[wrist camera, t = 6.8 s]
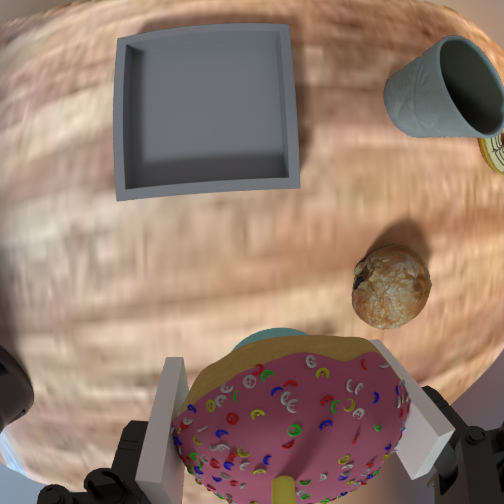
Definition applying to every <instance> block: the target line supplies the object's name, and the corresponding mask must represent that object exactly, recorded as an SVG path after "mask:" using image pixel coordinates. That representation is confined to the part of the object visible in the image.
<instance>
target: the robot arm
mask: <svg viewBox="0 0 504 504" xmlns="http://www.w3.org/2000/svg"><path fill="white" fill-rule="evenodd" d="M370 342H371V343H372V344H373V345H374V346H375V347H376V348H377V349H378V350H379V351H380V353H381V354H382V355H383V356H384V358H385V359H386V360H387V361H388V363H389V364H390V365H391V367H392V368H393V369H394V371H395V372H396V373H397V375H398V376H399V378H400V379H401V380H402V379H403V380H405V387H406V389H407V392H409V400H410V409H409V413H408V416H407V419H406V421H405V427H406V428H405V429H404V430H403V431H402V438H401V439H400V440H398V441H399V443H398V445H397V447H396V448H394V450H397V451H396V453H397V454H398V456H399V458H400V460H401V462H402V463H403V465H404V467H405V469H406V470H407V472H408V474H409V476H410V477H411V479H412V480H413V479H415V478H418V477H420V476H422V475H425V474H427V473H428V472H429V471H430V469H431V468H432V466H433V465H434V466H435V468H436V469H437V471H436V472H435V473H434V475H433V476H432V478H431V479H430V480H429V482H428V484H427V487H430V486H431V484H432V483H433V482H434V485H433V487H434V489H435V504H504V422H503V424H502V425H501V427H500V428H497V429H494V430H489V431H485V430H484V429H482V428H480V427H478V426H468V425H467V424H466V423H465V422H464V421H463V420H462V419H461V418H460V416H459V415H458V414H457V413H456V412H455V411H454V409H453V408H452V407H451V406H449V404H448V403H447V401H446V400H444V398H443V397H442V396H441V395H440V394H439V392H438V391H437V390H435V389H433V388H431V387H430V386H428V385H427V386H424V387H420V386H419V385H418V384H417V383H416V381H415V380H414V379H413V378H412V377H411V376H410V374H409V373H408V372H407V371H406V370H405V369H404V367H403V366H402V365H401V364H400V363H399V362H398V361H397V359H396V358H395V357H394V356H393V355H392V354H391V353H390V351H389V350H388V349H387V348H386V347H385V346H384V345H383V343H382V342H381V341H380V340H379V339H376V340H370ZM188 393H189V387H188V382H187V376H186V371H185V365H184V360H183V357H166V360H165V364H164V367H163V371H162V374H161V378H160V382H159V385H158V389H157V392H156V396H155V400H154V404H153V407H152V411H151V415H150V419H149V422H147V421H135V420H131V421H130V422H129V423H128V425H127V426H126V427H125V428H124V429H123V432H122V435H121V438H120V441H119V444H118V450H117V451H116V454H115V457H114V460H113V464H112V467H111V469H110V468H99V469H96V470H93V471H92V472H90V473H89V474H88V475H87V476H86V478H85V480H84V488H85V489H86V490H87V492H70V491H69V490H67V489H66V488H65V487H64V486H61V485H58V484H51V485H48V486H45V487H44V488H43V489H42V490H41V491H40V493H39V496H38V500H37V504H182V495H183V482H184V470H185V464H184V463H183V461H182V460H181V459H180V457H179V455H178V452H177V451H176V445H174V440H173V436H174V435H172V436H171V435H170V432H171V429H172V424H173V421H174V420H175V419H176V418H177V417H178V416H179V415H180V411H181V407H182V405H183V403H184V401H185V399H186V397H187V395H188ZM33 402H34V396H33V391H32V388H31V386H30V383H29V381H28V379H27V378H26V376H25V374H24V373H23V371H22V370H21V368H20V367H19V365H18V364H17V363H16V361H15V360H14V359H13V358H12V357H11V356H10V355H9V354H8V353H7V352H6V351H5V350H4V349H3V348H2V347H1V346H0V433H1V432H2V430H3V429H4V428H5V427H6V426H7V425H8V424H10V423H12V422H14V421H15V420H17V419H19V418H20V417H22V416H24V415H25V414H26V413H27V412H28V411H29V409H30V408H31V406H32V405H33ZM400 436H401V435H400ZM399 438H400V437H399Z"/></svg>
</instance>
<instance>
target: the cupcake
mask: <svg viewBox="0 0 504 504" xmlns="http://www.w3.org/2000/svg"><path fill="white" fill-rule="evenodd" d="M409 409H410V400H409V392H407V389H406V387H405V380H403V379H402V380H401V379H400V378H399V376H398V375H397V373H396V372H395V371H394V369H393V368H392V367H391V365H390V364H389V363H388V361H387V360H386V359H385V358H384V356H383V355H382V354H381V353H380V351H379V350H378V349H377V348H376V347H375V346H374V345H373V344H372V343H371V342H370V341H368V340H366V339H364V338H360V337H339V336H325V335H308V334H306V333H304V332H302V331H299V330H295V329H291V328H271V329H266V330H263V331H259V332H257V333H254V334H252V335H250V336H249V337H247V338H245V339H244V340H242V341H241V342H240V343H239V344H238V345H237V346H236V347H235V348H234V349H233V350H232V352H231V353H229V354H228V355H227V356H225V357H224V358H222V359H220V360H219V361H217V362H215V363H213V364H211V365H209V366H207V367H206V368H205V369H203V370H202V371H201V372H200V374H199V375H198V377H197V378H196V380H195V382H194V383H193V385H192V387H191V389H190V391H189V393H188V395H187V397H186V399H185V401H184V403H183V405H182V407H181V411H180V415H179V416H178V417H177V418H176V419H175V420H174V421H173V424H172V429H171V432H170V435H171V436H172V435H174V436H173V440H174V445H176V451H177V452H178V455H179V457H180V459H181V460H182V461H183V463H184V464H185V466H186V467H187V470H188V472H189V473H190V474H193V475H194V477H195V481H196V483H197V484H199V485H201V484H203V485H204V486H205V487H206V488H207V490H208V491H212V492H214V494H215V495H217V496H218V497H219V498H221V499H226V500H227V502H228V503H229V504H235V503H236V504H314V503H318V502H320V503H322V504H327V502H329V501H333V500H335V499H336V498H337V497H338V496H339V497H338V499H339V498H340V497H341V496H344V495H346V494H347V493H348V492H354V491H355V490H357V488H358V487H360V486H362V485H365V484H367V483H366V482H367V481H368V480H369V479H370V478H372V477H373V476H375V475H376V474H377V473H378V472H379V469H380V468H381V466H382V464H383V463H384V462H385V461H386V459H387V458H388V457H389V455H390V454H391V453H394V452H396V451H397V450H393V449H394V448H396V447H397V445H398V443H399V441H398V440H400V439H401V438H402V431H403V430H404V429H405V428H406V427H405V421H406V419H407V416H408V413H409ZM400 435H401V436H400ZM399 437H400V438H399ZM376 472H377V473H376ZM198 481H199V482H198ZM331 499H332V500H331ZM326 500H327V501H326Z"/></svg>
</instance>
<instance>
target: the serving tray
mask: <svg viewBox="0 0 504 504" xmlns="http://www.w3.org/2000/svg"><path fill="white" fill-rule="evenodd" d="M113 149H114V172H115V187H116V200H117V201H125V200H134V199H143V198H153V197H163V196H174V195H186V194H198V193H212V192H227V191H245V190H267V189H297V188H300V165H299V143H298V124H297V108H296V94H295V81H294V69H293V58H292V47H291V38H290V28H289V24H273V23H226V24H208V25H196V26H187V27H178V28H171V29H164V30H157V31H152V32H146V33H141V34H136V35H131V36H127V37H122V38H118V40H117V50H116V61H115V76H114V98H113Z"/></svg>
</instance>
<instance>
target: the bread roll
mask: <svg viewBox="0 0 504 504" xmlns="http://www.w3.org/2000/svg"><path fill="white" fill-rule="evenodd" d="M354 275H356V276H355V279H354V284H353V292H352V305H353V308H354V310H355V312H356V313H357V315H358V316H359V317H360V318H361V319H362V320H363V321H364V322H366V323H367V324H369V325H370V326H373V327H375V328H379V329H392V328H399V327H401V326H402V325H404V324H406V323H408V322H409V321H410V320H412V319H413V318H415V317H416V316H417V315H418V314H419V313H420V312H421V310H422V309H423V308H424V306H425V304H426V302H427V299H428V297H429V293H430V289H431V286H432V283H431V281H430V275H429V271H428V270H427V268H426V266H425V264H424V262H423V260H422V259H421V258H420V256H419V255H418V254H416V253H414V252H413V251H411V250H409V249H408V248H406V247H404V246H401V245H391V246H386V247H384V248H382V249H378V250H376V251H374V252H372V253H371V254H370V255H369V256H368V257H367V258H366V260H365V262H359V264H358V265H357V267H356V268H355V272H354Z"/></svg>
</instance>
